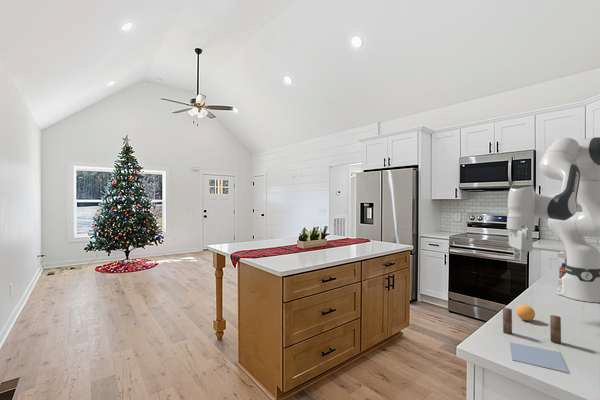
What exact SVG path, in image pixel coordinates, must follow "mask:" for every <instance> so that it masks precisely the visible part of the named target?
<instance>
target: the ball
mask: <svg viewBox="0 0 600 400" xmlns="http://www.w3.org/2000/svg"><path fill="white" fill-rule="evenodd" d="M516 315H517V317H519V318H520V319H521V320H523V321H527V322H529V321H532V320H534V319H535V317H536V312H535V310H534V309H533V308H532V307H531V306H530V305H527V304H521V305H519V306H517V308H516Z"/></svg>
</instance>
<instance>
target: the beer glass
mask: <svg viewBox="0 0 600 400" xmlns="http://www.w3.org/2000/svg"><path fill="white" fill-rule="evenodd" d="M562 263H567V258H566V251H564V250H563V251H558V252H557V265H558V268H560V267H561V266H562Z"/></svg>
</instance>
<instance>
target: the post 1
mask: <svg viewBox="0 0 600 400" xmlns="http://www.w3.org/2000/svg"><path fill="white" fill-rule="evenodd" d="M502 333H503V334H507V335H513V309H511V308H509V307H503V308H502Z"/></svg>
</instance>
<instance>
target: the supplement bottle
mask: <svg viewBox="0 0 600 400" xmlns="http://www.w3.org/2000/svg"><path fill="white" fill-rule="evenodd" d="M566 264H567V263H562V266H561V267H560V268H559V267H558V268H559V269H558V275H559V277H558V280H559V279H560V278H561V279H562V277H563V276H564V275H565V273H566V272H565V267H566ZM560 285H562V284H560Z"/></svg>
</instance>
